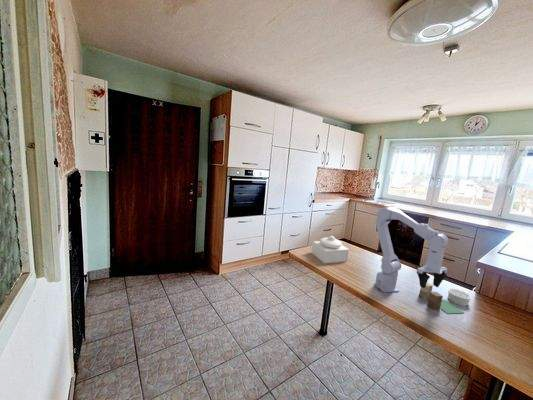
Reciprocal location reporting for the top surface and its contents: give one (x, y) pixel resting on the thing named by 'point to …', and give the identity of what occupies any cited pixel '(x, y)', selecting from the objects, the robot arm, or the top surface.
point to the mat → (449, 308)
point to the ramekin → (459, 297)
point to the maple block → (426, 291)
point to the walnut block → (435, 300)
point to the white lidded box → (330, 250)
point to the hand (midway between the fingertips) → (429, 286)
